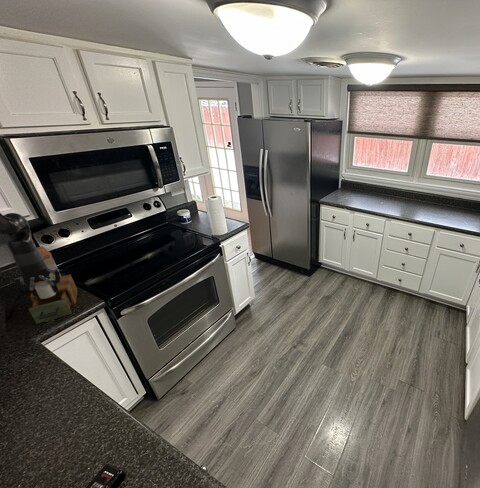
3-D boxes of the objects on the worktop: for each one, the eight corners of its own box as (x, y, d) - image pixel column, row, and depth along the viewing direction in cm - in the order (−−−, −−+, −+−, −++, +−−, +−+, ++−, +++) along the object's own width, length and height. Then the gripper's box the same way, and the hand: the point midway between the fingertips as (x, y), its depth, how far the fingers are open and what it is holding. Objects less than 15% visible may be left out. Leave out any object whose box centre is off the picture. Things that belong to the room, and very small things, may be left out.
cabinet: (75, 304, 128) (67, 287, 124) (39, 314, 121) (29, 297, 117) (77, 289, 138) (70, 274, 134) (44, 298, 131) (35, 282, 127)
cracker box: (67, 287, 139) (51, 252, 130) (52, 293, 135) (34, 257, 126) (59, 279, 146) (43, 245, 137) (44, 283, 142) (26, 249, 133)
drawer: (70, 319, 117) (63, 305, 114) (34, 330, 111) (26, 316, 107) (73, 298, 130) (67, 285, 127) (41, 307, 124) (34, 293, 120)
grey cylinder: (38, 300, 114) (33, 289, 112) (40, 294, 118) (35, 284, 116) (55, 296, 117) (50, 285, 115) (56, 290, 121) (51, 280, 118)
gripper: (54, 252, 116) (69, 284, 124) (6, 261, 108) (25, 295, 116) (52, 259, 111) (67, 292, 118) (2, 269, 103) (22, 304, 110)
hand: (47, 293), depth 117 cm, fingers closed on grey cylinder, 5 cm apart
